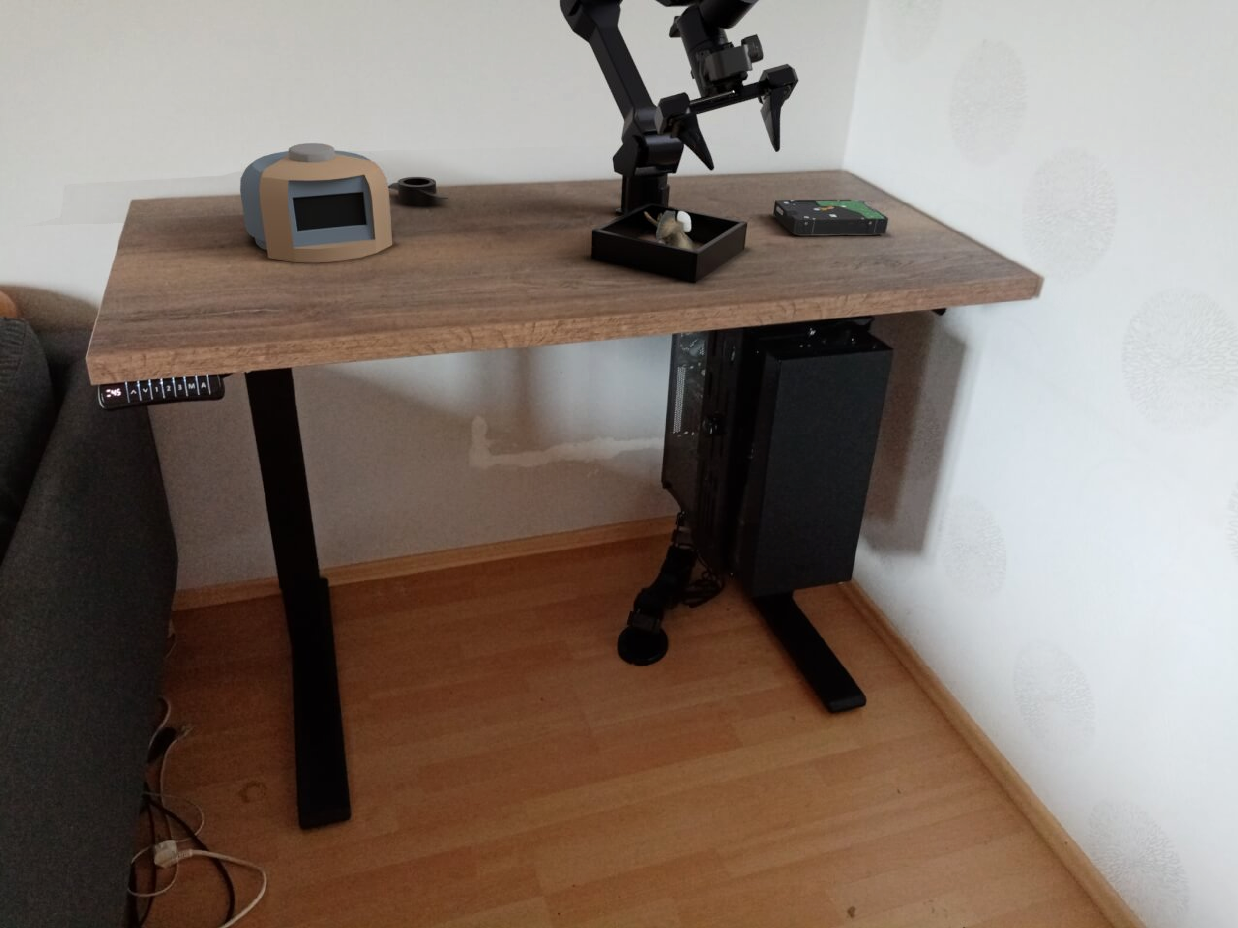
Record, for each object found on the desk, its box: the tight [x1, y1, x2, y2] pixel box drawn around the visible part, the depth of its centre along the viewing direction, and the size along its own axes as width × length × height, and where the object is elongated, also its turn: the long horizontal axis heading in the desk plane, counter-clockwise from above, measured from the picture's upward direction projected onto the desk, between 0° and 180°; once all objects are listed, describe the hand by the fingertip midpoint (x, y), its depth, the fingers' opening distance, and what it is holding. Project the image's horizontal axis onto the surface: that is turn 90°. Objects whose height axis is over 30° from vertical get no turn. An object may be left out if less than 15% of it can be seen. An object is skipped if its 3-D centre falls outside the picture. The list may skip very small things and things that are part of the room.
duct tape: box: [388, 176, 449, 207], centre depth 150 cm, size 8×10×3 cm
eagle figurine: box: [644, 210, 696, 251], centre depth 134 cm, size 8×7×9 cm
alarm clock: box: [239, 142, 393, 264], centre depth 131 cm, size 19×20×12 cm
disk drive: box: [772, 199, 889, 236], centre depth 150 cm, size 10×3×15 cm
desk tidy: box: [590, 202, 748, 284], centre depth 134 cm, size 16×17×4 cm
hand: (745, 160), depth 128 cm, fingers open, 9 cm apart
